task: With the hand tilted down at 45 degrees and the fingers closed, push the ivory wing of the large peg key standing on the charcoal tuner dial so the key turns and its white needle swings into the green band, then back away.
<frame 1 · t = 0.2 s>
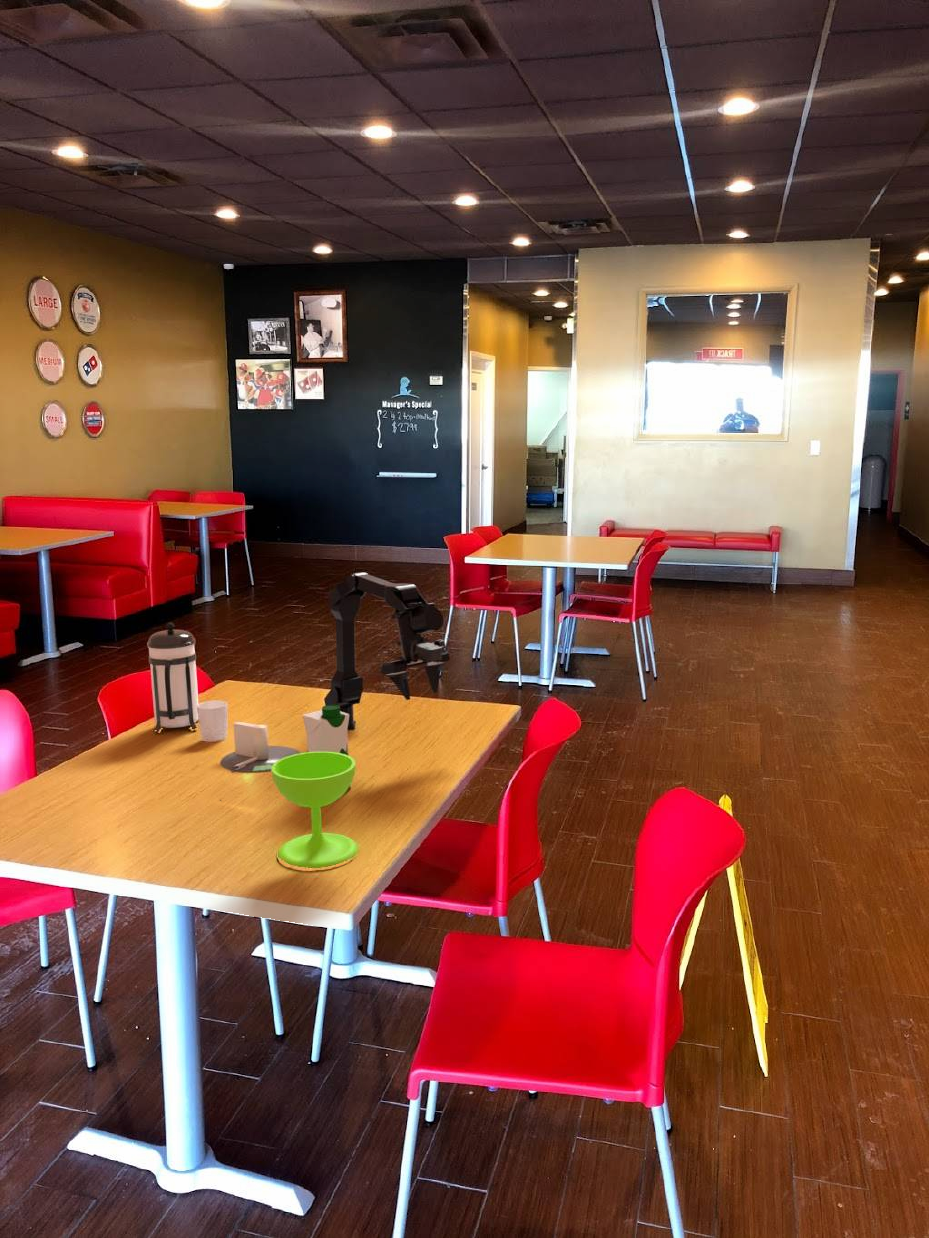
hand: (422, 696, 239), 15 cm above the table, tool pointing down, fingers open, 9 cm apart
white cup: (214, 741, 257), on the table
coffee press: (178, 729, 267), on the table
tuner plate: (261, 761, 239), on the table
milk carton: (329, 790, 220), on the table
wineglass: (318, 854, 186), on the table
peg key: (240, 744, 236), point 5 cm above the table, hinge at 0.0°
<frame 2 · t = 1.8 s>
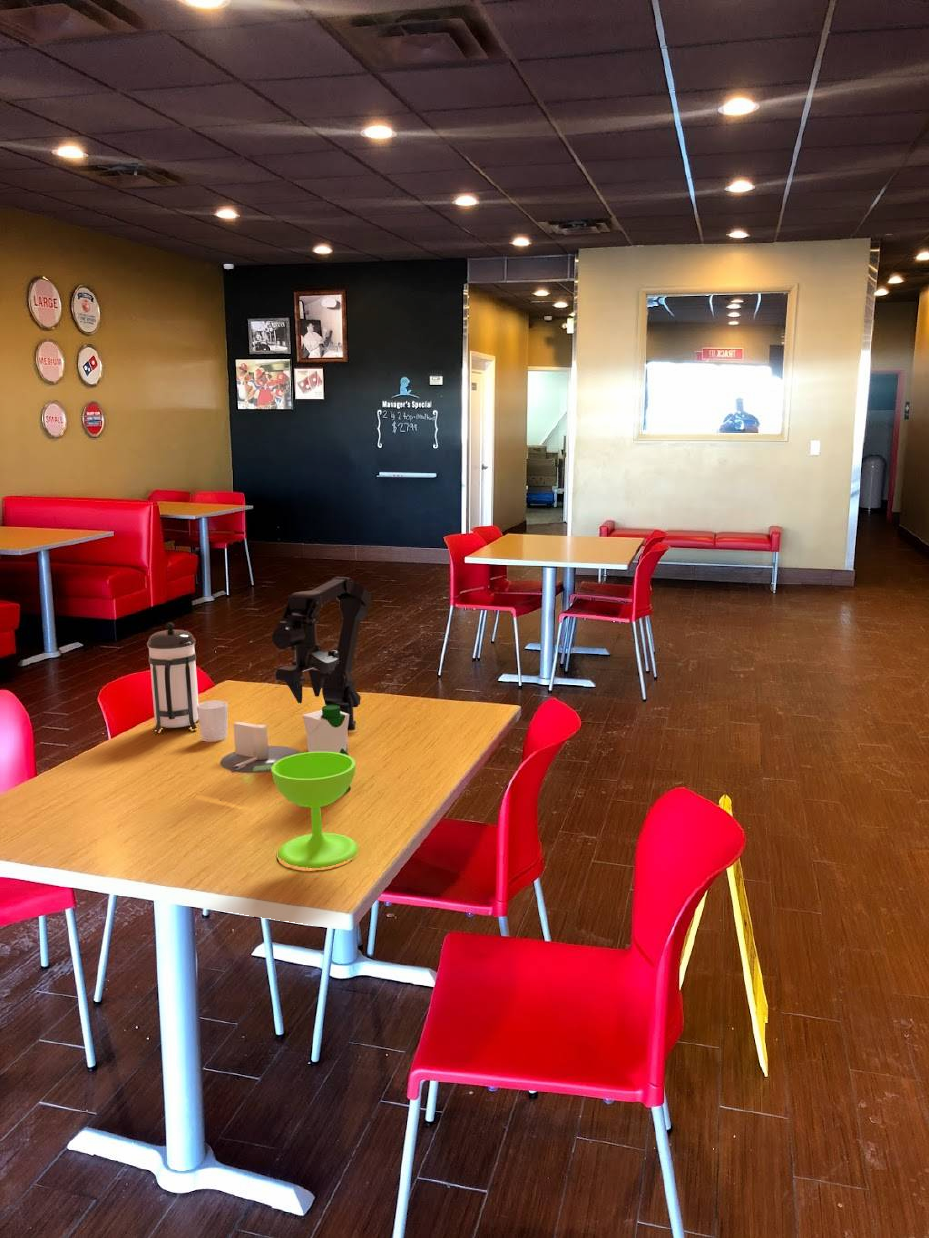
hand: (308, 699, 250), 12 cm above the table, tool pointing down, fingers open, 7 cm apart
nothing on the table moved.
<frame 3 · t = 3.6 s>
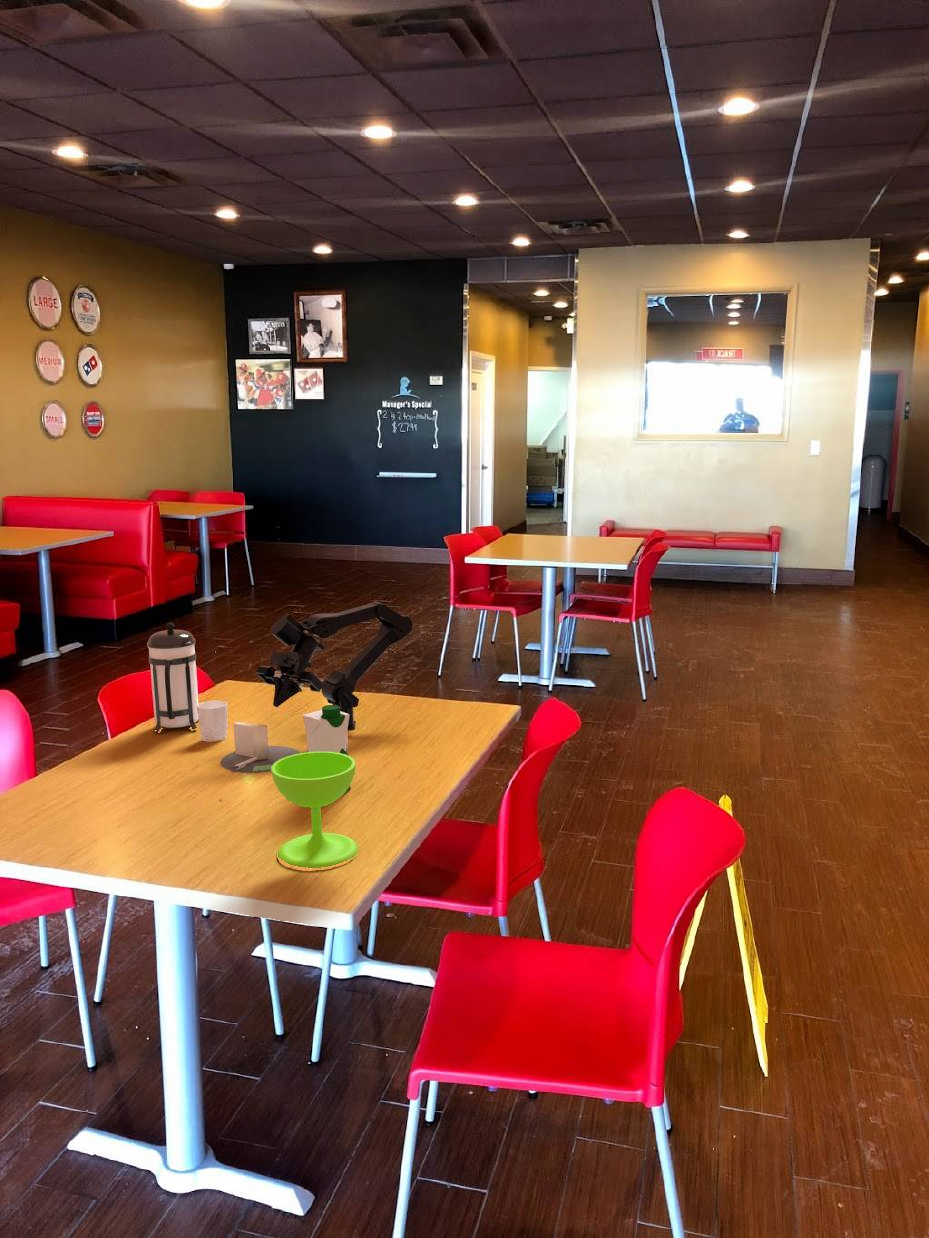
hand: (275, 706, 247), 11 cm above the table, tool tilted 45°, fingers closed
nothing on the table moved.
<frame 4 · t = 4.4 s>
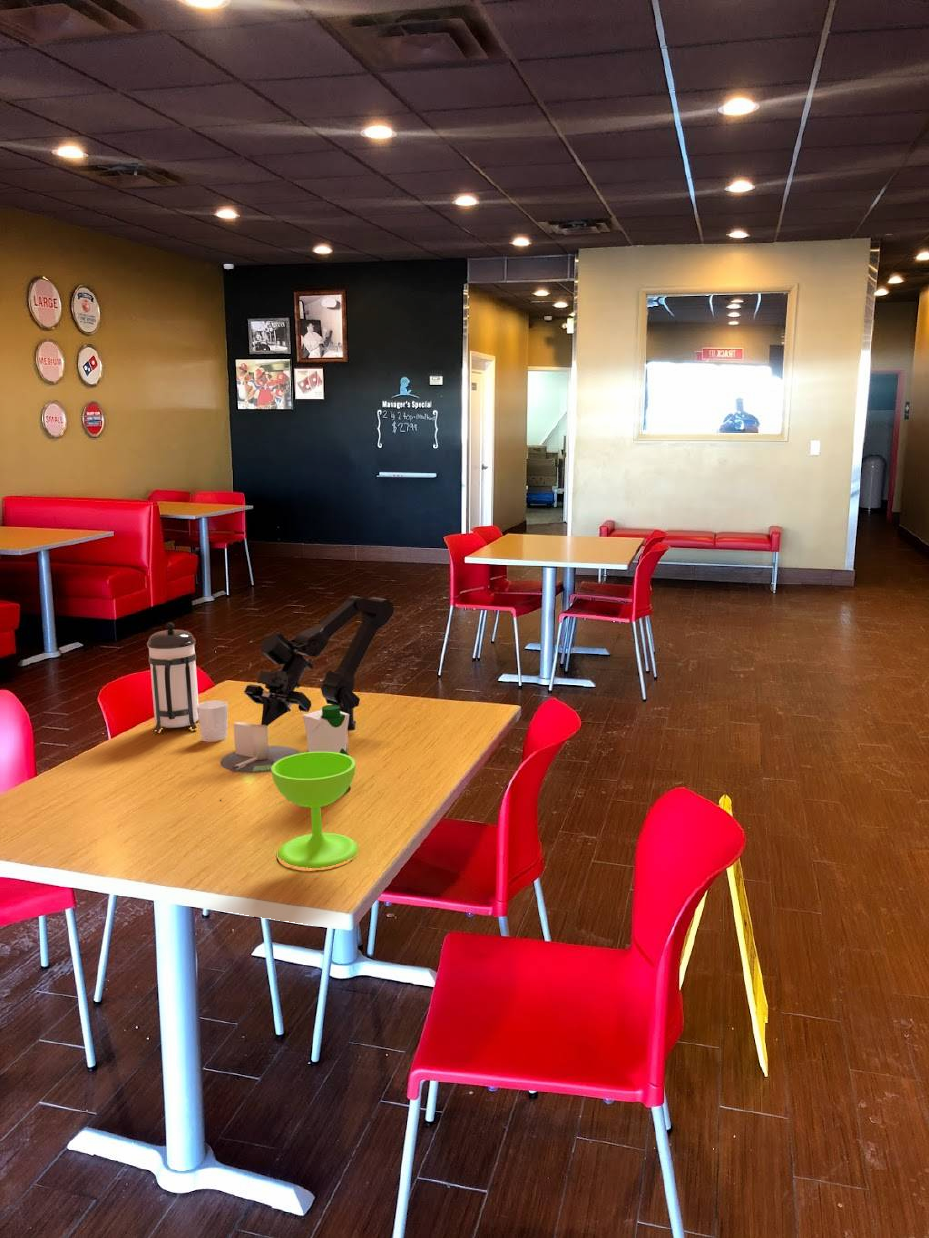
hand: (263, 726, 244), 7 cm above the table, tool tilted 45°, fingers closed
nothing on the table moved.
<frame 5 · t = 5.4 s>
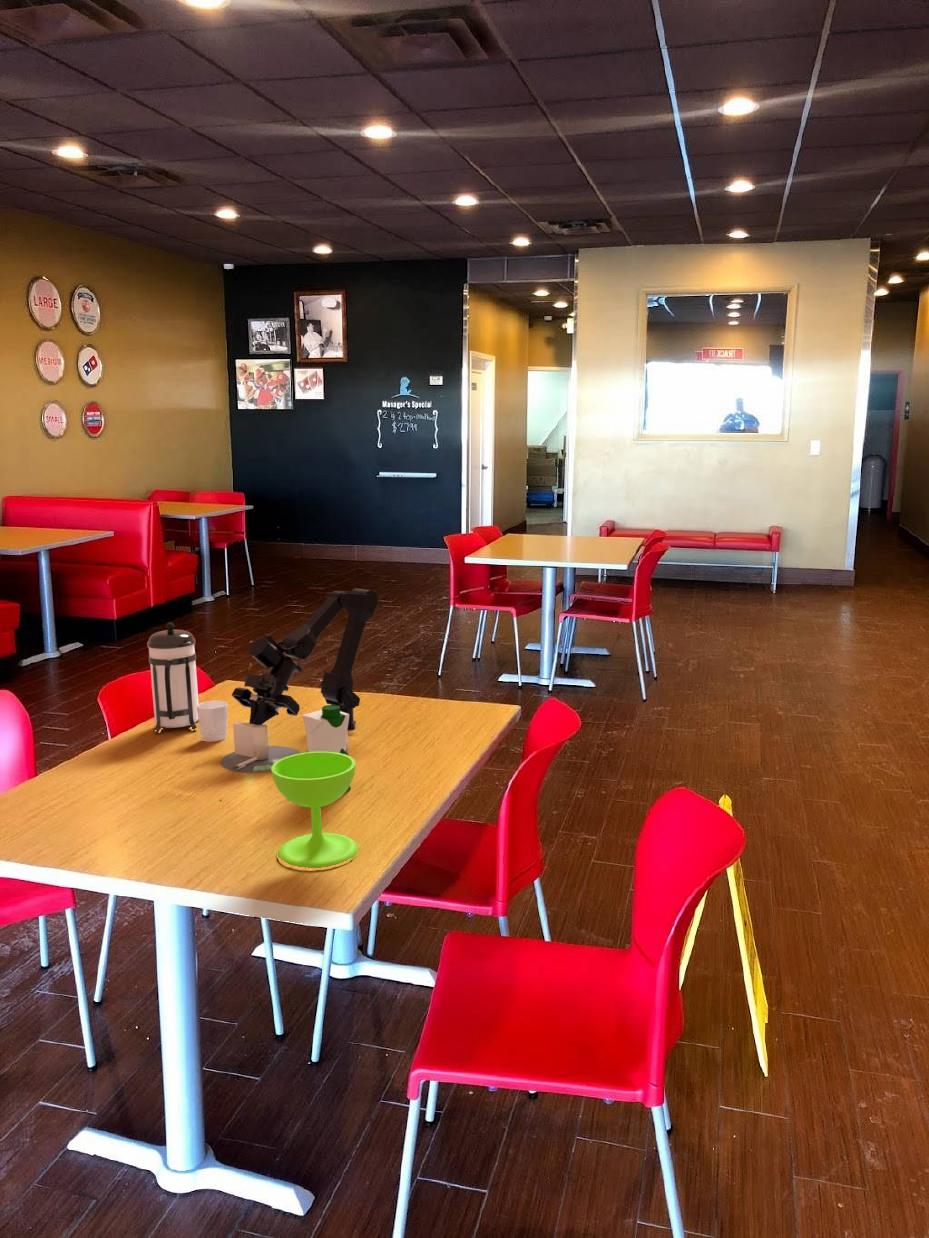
hand: (250, 730, 240), 7 cm above the table, tool tilted 45°, fingers closed, pressing on peg key
peg key: (240, 745, 236), point 5 cm above the table, hinge at 1.3°, touching gripper
everything else where it was.
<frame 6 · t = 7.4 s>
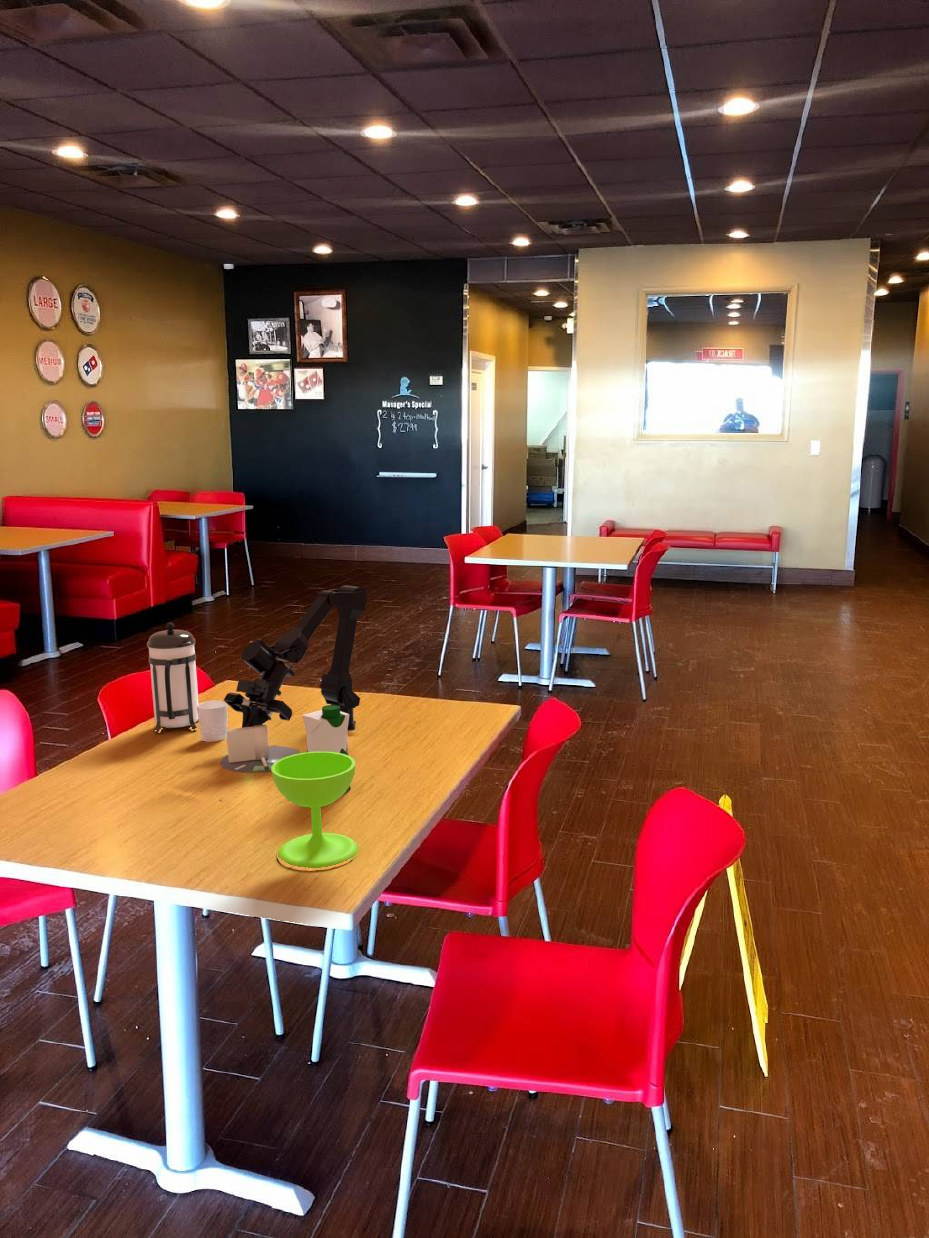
hand: (243, 735, 238), 7 cm above the table, tool tilted 45°, fingers closed
peg key: (249, 748, 233), point 5 cm above the table, hinge at 50.1°
everything else where it was.
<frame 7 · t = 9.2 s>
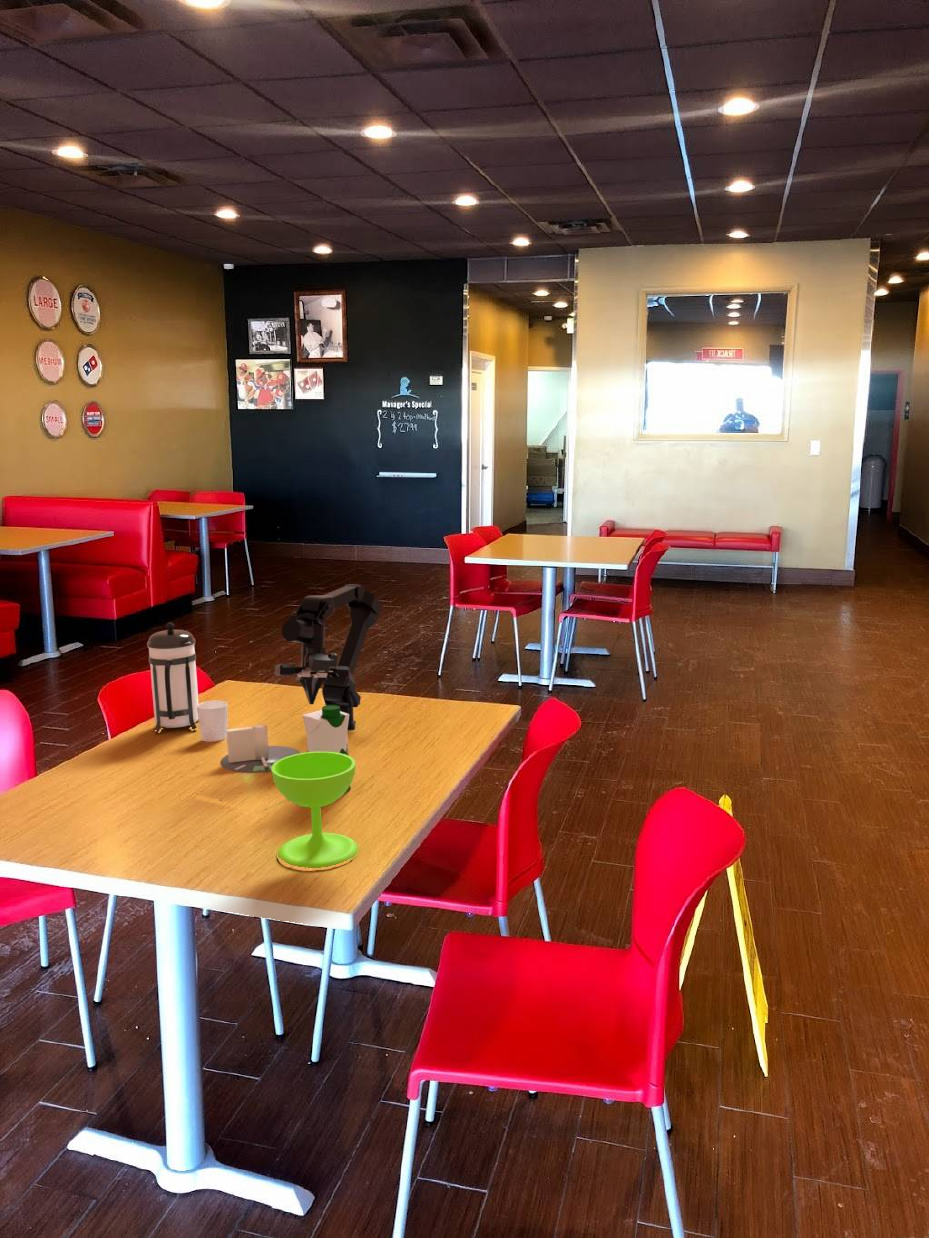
hand: (311, 704, 248), 11 cm above the table, tool tilted 15°, fingers closed
nothing on the table moved.
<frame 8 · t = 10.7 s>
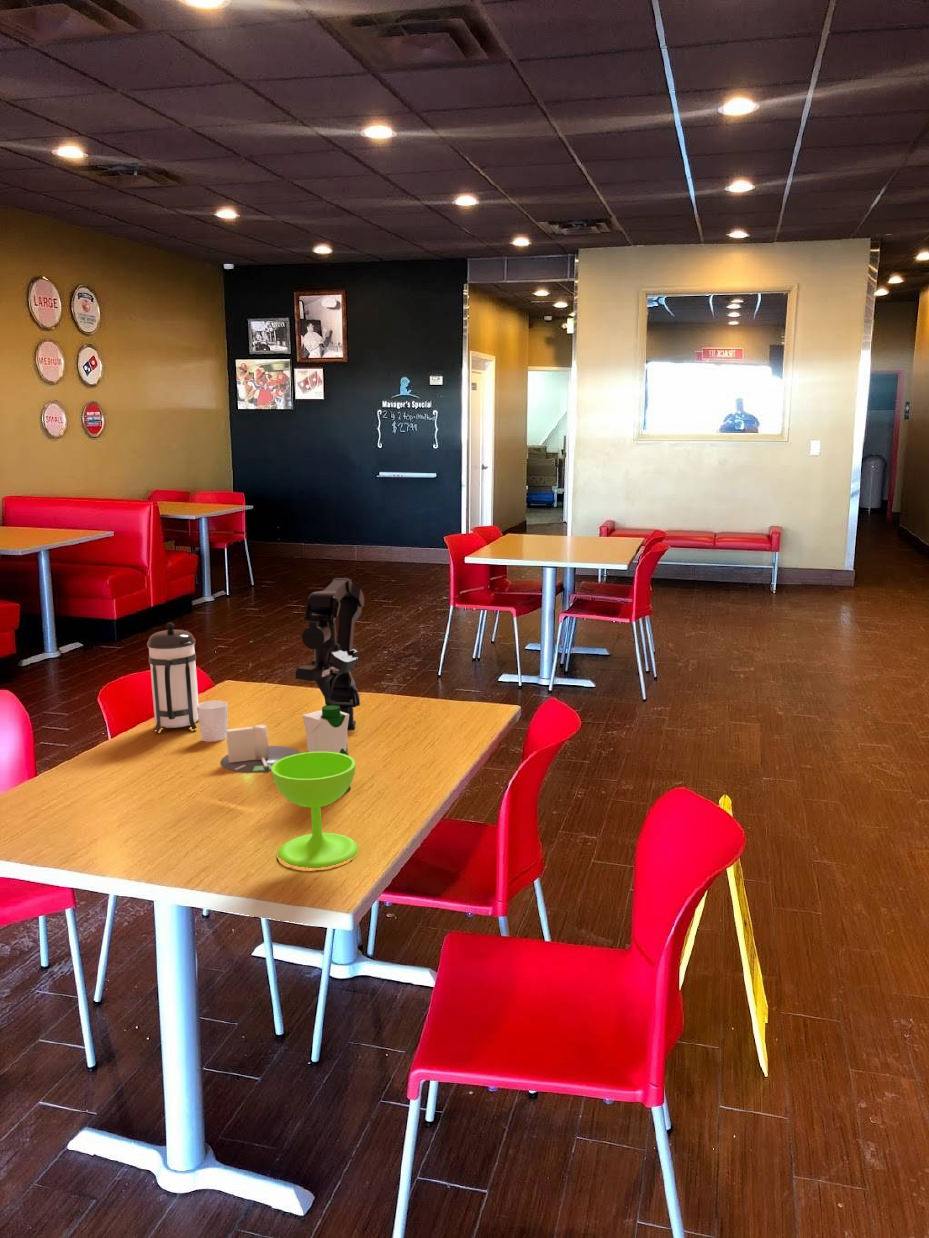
hand: (327, 698, 251), 12 cm above the table, tool pointing down, fingers closed
nothing on the table moved.
at the end: peg key at +50° (first picture: +0°) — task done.
